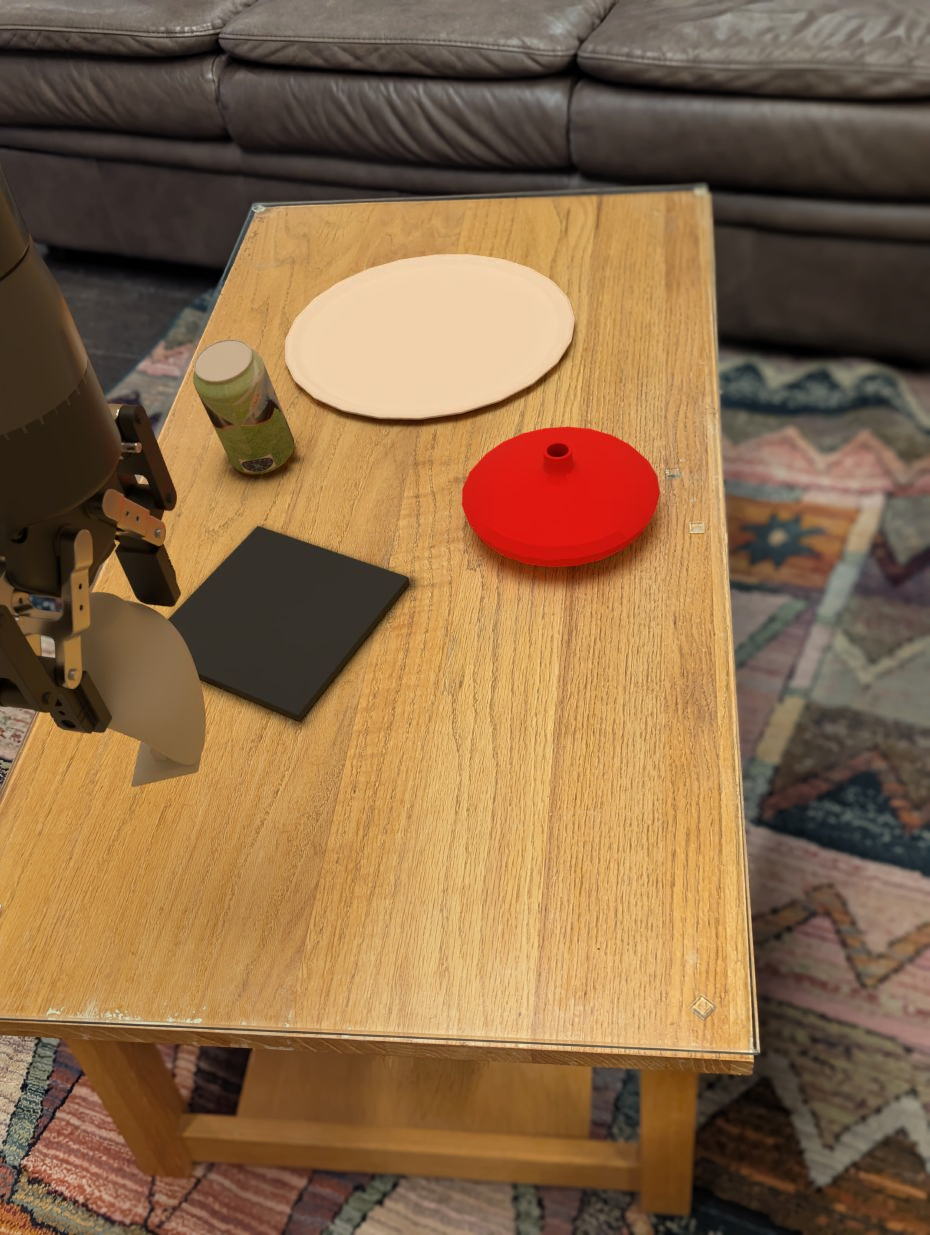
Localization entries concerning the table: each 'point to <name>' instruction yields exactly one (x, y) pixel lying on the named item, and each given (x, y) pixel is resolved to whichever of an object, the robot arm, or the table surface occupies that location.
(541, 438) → the red disc with nozzle
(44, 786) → the table surface
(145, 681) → the grey rounded body
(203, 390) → the beverage can
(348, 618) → the mat
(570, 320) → the plate
